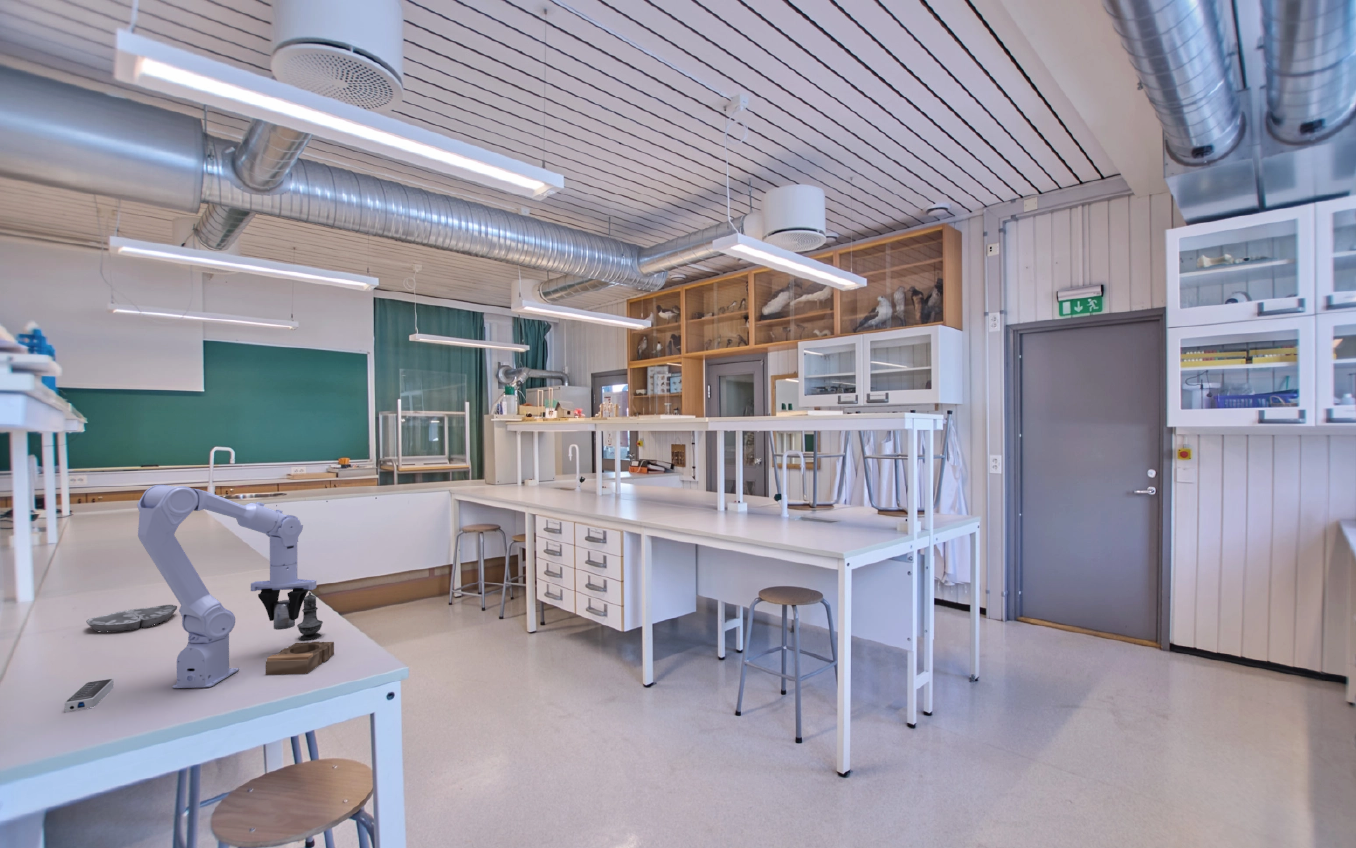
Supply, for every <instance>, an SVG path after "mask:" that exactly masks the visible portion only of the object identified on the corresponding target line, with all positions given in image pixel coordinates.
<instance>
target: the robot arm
mask: <svg viewBox="0 0 1356 848" xmlns="http://www.w3.org/2000/svg"><path fill="white" fill-rule="evenodd" d="M265 504H266V503H263V502H260V501H256V502H250V503H247V504H244V505H243V504H241V503H238V502H235V501H233V500H230V499H227V498H225V497H223V496H221V495H217V494H215V493H212V492H209V491H206V490H202V489H198V488H197V489H196V488H191V487H189V486H187V485H177V486H174V485H167V484H156V485H152V486H151V487H149V488H147V489H146V490H145V491H144V492H143V494H142V496H141V497H140V498H139V501H138V502H137V504H136V507H137V509H138V512H139V515H138V526H137V527H138V528H137V529H138V530H137V537H138V539H139V541H140V543H141V544H142V547H144V549H145V550H146V552H147V554H148V556H149V557H150V558H151V560H152V562H153V563H154V565H155V566H156V568H157V570H158V571H159V573H160V574H161V576H162V577H163V579H164V580H165V583H166V584H167V586H168V587H169V588H170V590H171V591H172V593H173V595H174V596H175V598H176V600H177V601H178V603H179V604H180V606H179V609H178V612H179V613H180V616H181V620H182V621H181V626H182V628H183V630H184V631H185V632H186V633H188V638H187V640H188V641H187V644H186V647H184V648H183V649H182V650H181V651H180V652H179V654H178V655H177V657H176V683H175V684H173V685H172V689H190V688H192V689H193V688H194V689H197V688H198V689H199V688H211V687H213V686H215V685H216V684H218V683H220V682H221V681H223V680H225V679H226V678H228V677H230V676H231V675H234V673H236V672H238V671H239V667H230V633H231V632H232V631H233V629H234V628H235V625H236V615H235V614H234V612H233V611H231V610H229V609H227V608H225V607H224V606H223V604H222V603H221V602H220V601H219V600H218V599H217V598H216V597H215V596H213V595H212V594H211V593H210V592H209V590H208V588H207V586H206V584H205V583H204V582H203V580H202V578H201V577H200V575H199V574H198V571H197V570H196V568H195V567H194V565H193V563H192V561H191V560H190V558H189V557H188V556H187V553H186V551H185V550H184V548H183V547H182V545H181V544H180V542H179V541H178V539H177V536H175V533H176V532H177V529H178V528H179V526H180V525H181V524H182V523H183V522H184V521H185V520H186V518H188V517H189V516H190V514H192V513H193V511H195V512H196V511H197V512H198V511H199V512H200V511H202V510H205V511H209V512H214V513H216V514H218V515H222V516H227V517H230V518H233V519H236V522H237V524H238V525H239V527H243V528H247V529H250V530H251V531H252V530H253V531H255V532H258V533H262V534H265V536H267V537H268V538H269V580H262V581H261V580H257V581H253V582H251V583H250V592H257V591H260V593H258V594H257V596H258V599H259V600H260V601H261V602H262V604H263V606H264V608H265V610H266V612H267V616H268V619H269V622H272V621H273V622H274V603H275V602H277V601H279V597H280V593H281V592H280V591H281V590H282V591H283V590H284V591H285V590H289V592H287V597H288V600H289V602H290V618H291V620H295V621H296V620H297V619H299V615H300V611H301V609H302V605H303V604H304V598H305V597H306V596H307V595H308V593H309V592H310V590H311V591H313V590H315V589H316V588H317V579H301V578H298V542H299V536H300V535H301V533H302V532H303V528H304V525H303V524H301V523H302V522H301V521H300V519H299V518H298V517H297V516H295V515H292V514H284V513H283V510H281V509H276V510H274V509H272V508H269V507H267V506H265ZM291 590H292V591H291Z"/></svg>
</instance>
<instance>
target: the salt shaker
mask: <svg viewBox="0 0 1356 848" xmlns="http://www.w3.org/2000/svg"><path fill="white" fill-rule="evenodd" d="M317 610H318V607H317V597H316V596H315V595H313V594H312V592H311V591H308V593H307V595H306V596H305V598H304V600H303V609H302V610H301V612H303V613H302V614H303V615H302V617H303V618H302V621H301V622H300V623H298V624H297V625H296V628H297V629H298V631H299V633H300V634H301V635H300V636H299V637H298V641H300V642H301V641H302V642H309V641H314V640H318V639H320V638H321V637H322V634H321V633H320V632H319V631H321V628H322V625H323V623H324V622H323V621H322V620H319V619H318V616H317ZM319 637H320V638H319ZM317 638H318V639H317Z"/></svg>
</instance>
